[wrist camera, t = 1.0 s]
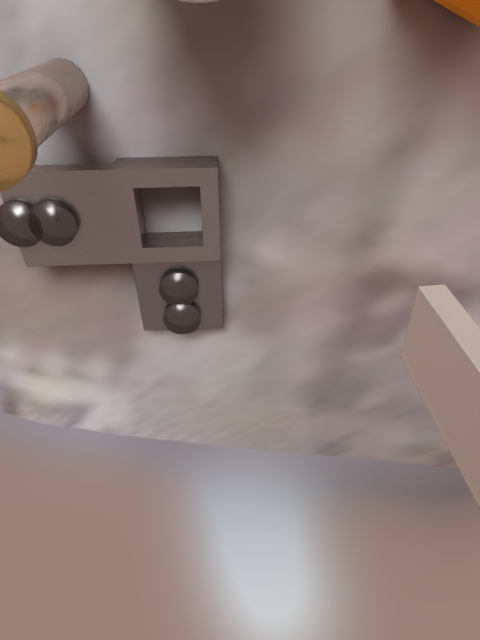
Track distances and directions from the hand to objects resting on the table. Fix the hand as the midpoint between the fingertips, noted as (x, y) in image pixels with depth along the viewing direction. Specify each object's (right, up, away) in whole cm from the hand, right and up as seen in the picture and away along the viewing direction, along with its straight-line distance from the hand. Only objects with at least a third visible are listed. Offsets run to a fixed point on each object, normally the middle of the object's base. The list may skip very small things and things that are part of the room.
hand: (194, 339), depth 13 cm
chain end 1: (-8, +8, +18) cm, 21 cm away
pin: (-10, +15, +14) cm, 23 cm away
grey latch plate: (-4, +6, +22) cm, 23 cm away
